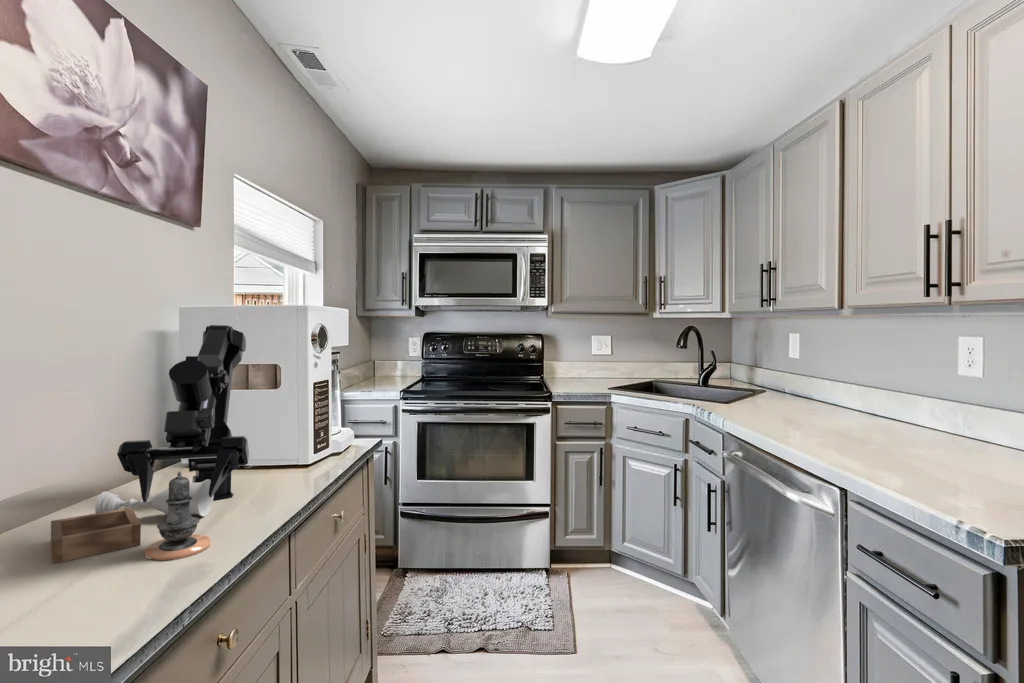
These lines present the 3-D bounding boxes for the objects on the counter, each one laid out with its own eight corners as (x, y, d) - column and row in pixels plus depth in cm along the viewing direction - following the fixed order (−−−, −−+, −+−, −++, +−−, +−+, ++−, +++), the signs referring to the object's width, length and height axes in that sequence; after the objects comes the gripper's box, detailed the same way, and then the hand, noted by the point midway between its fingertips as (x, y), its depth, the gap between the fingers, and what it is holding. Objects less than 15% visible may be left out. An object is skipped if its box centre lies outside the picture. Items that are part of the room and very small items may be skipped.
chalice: (98, 533, 96) (202, 524, 98) (86, 505, 93) (194, 497, 96) (119, 505, 102) (216, 498, 105) (108, 478, 99) (209, 471, 102)
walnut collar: (131, 526, 94) (131, 507, 94) (140, 545, 86) (140, 524, 86) (50, 541, 86) (50, 521, 86) (51, 563, 78) (52, 540, 78)
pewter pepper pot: (194, 549, 83) (195, 474, 83) (151, 553, 81) (152, 477, 81) (202, 536, 88) (204, 466, 89) (163, 539, 87) (164, 468, 87)
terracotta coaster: (203, 533, 91) (203, 530, 91) (216, 550, 84) (216, 546, 84) (141, 547, 85) (141, 543, 85) (149, 565, 78) (150, 561, 78)
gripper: (122, 392, 85) (93, 476, 75) (248, 391, 92) (237, 467, 81) (137, 431, 93) (113, 513, 82) (252, 427, 99) (243, 502, 89)
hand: (177, 498), depth 84 cm, fingers open, 9 cm apart
